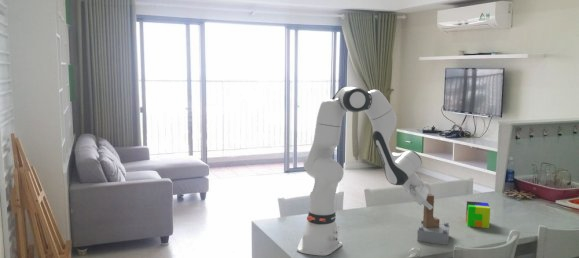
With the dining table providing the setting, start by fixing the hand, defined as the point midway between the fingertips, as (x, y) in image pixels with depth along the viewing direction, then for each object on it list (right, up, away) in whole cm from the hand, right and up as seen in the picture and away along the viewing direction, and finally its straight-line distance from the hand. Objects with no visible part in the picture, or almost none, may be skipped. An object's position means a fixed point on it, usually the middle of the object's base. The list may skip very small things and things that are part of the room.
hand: (432, 206), depth 219 cm
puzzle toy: (+29, -13, +23) cm, 39 cm away
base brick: (+1, -15, +2) cm, 15 cm away
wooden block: (0, -10, +3) cm, 10 cm away
